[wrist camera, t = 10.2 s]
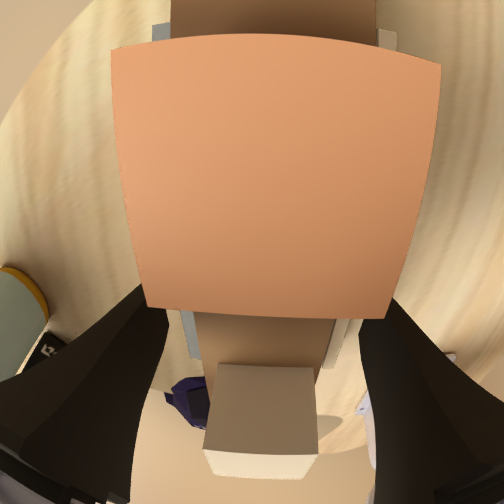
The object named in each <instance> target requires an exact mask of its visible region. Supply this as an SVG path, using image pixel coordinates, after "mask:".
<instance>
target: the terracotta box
mask: <svg viewBox="0 0 504 504" xmlns="http://www.w3.org/2000/svg"><path fill="white" fill-rule="evenodd" d="M111 80H112V99H113V114H114V125H115V136H116V145H117V154H118V162H119V169H120V176H121V183H122V190H123V196H124V202H125V208H126V213H127V219H128V224H129V229H130V234H131V239H132V244H133V248H134V253H135V257H136V262H137V266H138V270H139V275H140V279H141V283H142V287H143V291H144V294H145V298H146V302H147V306H148V307H154V308H164V309H174V310H184V311H195V312H207V313H220V314H234V315H249V316H268V317H291V318H327V319H384V317H385V315H386V312H387V310H388V307H389V304H390V302H391V299H392V296H393V294H394V291H395V288H396V285H397V283H398V280H399V277H400V274H401V271H402V268H403V265H404V262H405V259H406V256H407V252H408V249H409V246H410V242H411V239H412V236H413V232H414V228H415V225H416V221H417V217H418V214H419V210H420V206H421V202H422V197H423V193H424V189H425V184H426V179H427V175H428V170H429V165H430V159H431V154H432V148H433V142H434V135H435V129H436V121H437V113H438V104H439V94H440V82H441V65H440V64H437V63H434V62H431V61H428V60H425V59H422V58H418V57H415V56H411V55H408V54H404V53H400V52H396V51H392V50H388V49H384V48H380V47H375V46H370V45H365V44H360V43H354V42H348V41H342V40H335V39H328V38H319V37H310V36H298V35H283V34H219V35H203V36H192V37H183V38H174V39H167V40H160V41H154V42H148V43H142V44H137V45H132V46H127V47H123V48H118V49H114V50H111Z"/></svg>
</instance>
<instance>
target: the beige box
mask: <svg viewBox="0 0 504 504" xmlns="http://www.w3.org/2000/svg"><path fill="white" fill-rule="evenodd" d="M203 451H204V454H205V456H206V458H207V460H208V462H209V464H210V466H211V469H212V471H213V473H214V475H221V476H230V477H243V478H258V479H259V478H260V479H302V478H303V477H304V475H305V474H306V472H307V471H308V469H309V468H310V466H311V465H312V463H313V462H314V460H315V459H316V457H317V456H318V433H317V414H316V398H315V383H314V370H313V367H268V366H248V365H233V364H220V363H218V365H217V370H216V376H215V381H214V387H213V392H212V398H211V404H210V409H209V415H208V421H207V426H206V432H205V438H204V443H203Z"/></svg>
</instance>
